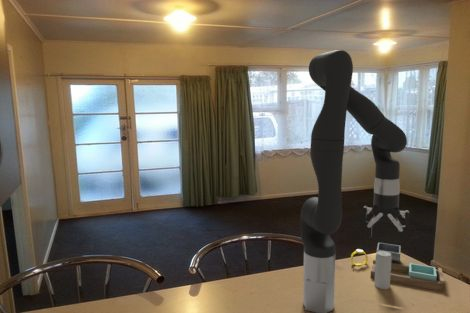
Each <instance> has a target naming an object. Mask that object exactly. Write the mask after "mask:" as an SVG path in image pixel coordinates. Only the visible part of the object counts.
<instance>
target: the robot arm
mask: <svg viewBox="0 0 470 313" xmlns="http://www.w3.org/2000/svg"><path fill="white" fill-rule="evenodd" d="M353 72H354V66H353V60H352V57H351V55H350V54H349V53H348V52H347V51H346V50H343V49H337V50H331V51H326V52H322V53H320V54H317V55H315V56H313V58H312V59H311V60H310V62H309V65H308V74H309V77H310V78H311V80H312V82H313V83H314V84H315V85H317V86H318V87H319V88H321V89H322V90H323V92H324V102H323V105H322V107H321V110H320V112H319V115H318V116H317V118H316V121H315V122H314V125H313V127H312V130H311V136H310V149H309V150H310V151H309V152H310V153H309V154H310V161H311V163H312V167H313V171H314V174H315V178H316V181H317V186H318V189H317V190H318V195H317V197H316V196H314V197H310V198H308V199H307V200H306V201H305V202H304V203H303V204H302V207H301V210H300V237H301V242H302V245H303V285H302V288H303V290H302V291H303V292H302V296H303V297H302V302H303V303H302V304H303V306H304V310H305V311H308V312H313V313H330V312H331V311H333V310H334V308H335V284H336V283H335V280H336V277H335V276H336V274H335V273H336V244H335V243H336V242H334V240H333V239H332V238H331V236H332V235H333V234H336V232H337V231H338V230H339V228H340V226H341V224H342V220H343V201H342V200H343V199H342V198H343V194H342V193H343V192H342V178H343V163H344V162H343V159H344V153H345V152H344V151H345V138H346V137H345V134H346V121H347V113H349V114H350V115H351V116H352V118H353V119H355V121H356V122H357V123H358V124H359V126H360V127H361V128H362V129H363V130H364V131H365V132H366V133H367V134H369V135H372V136H371V139H370V143H371V144H370V145H371V150H372V155H373V159H374V163H375V175H374V176H375V177H374V185H373V203H372V204H373V206H372V207H368V206H367V205H364V206H363V208H362V213H361V214H362V215H361V226H365V227H366V229H367V230H366V231H367V232H366V236H367V237H368V238H369V239H372V236H373V226H374V224H376V223H377V222H379V223H388V224H391V223H393V225H394V226H395V227H396V228H397V243H401V242H403V236H404V235H403V234H404V231H410V230H411V229H410V211H409V209H406V210H400V208H399V207H400V192H401V191H400V190H401V189H400V188H401V185H400V172H401V171H400V170H401V169H400V168H401V166H400V165H401V164H400V161H399V160H398V159H395V158H393V157H392V154H391V153H400V152H402V151H404V149H405V148H406V147H407V143H408V139H407V136H406V134H405V132H404V131H403V130H402V129H401V128H400V126H398V125H397V124H395V123H394V122H393V121H391V120H390V119H388V118H387V117H386V116H385V115H384V113H383V112H382V111H381V109H379V107H378V106H377V105H376V103H375V102H373V101H372V100H371V99H370V98H368V97H367V96H365V95H364V94H363V93H361V92H360V91H358V90H356V89H355V87H352V85H351V84H352V79H353ZM370 213H372V214H373V217H372V218H371V219H370V220H369V221H368V220H367V217H368V216H367V215H369V214H370ZM400 215H401V217H402V218H403V219H404V225H402V224H401V222H400V220H399V219H398V217H399V216H400Z"/></svg>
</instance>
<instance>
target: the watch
mask: <svg viewBox="0 0 470 313" xmlns="http://www.w3.org/2000/svg"><path fill="white" fill-rule="evenodd" d="M356 254H364V255H365V260H364V261H363V262H361V263H358V262H357V263H355V262H354V260H353V258H354V255H356ZM368 258H369V257H368V255H367V254H366V252H365V251H364V250H363V249H361V248H357V249H355V250H354V251H353V252H352V253H351V254H350V261H351V263H352V265H354V266H360V267H361V266H362V264H363V265H366V264H367V263H368Z"/></svg>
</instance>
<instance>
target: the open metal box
mask: <svg viewBox="0 0 470 313" xmlns="http://www.w3.org/2000/svg"><path fill="white" fill-rule="evenodd" d="M401 248H402V247H401V245H398V244H391V243H386V242H385V243H384V242H378V243H377V246H376V252H377V251H380V250H383V251H388V252H390V253H391V256H392V259H391V263H397V264H401Z"/></svg>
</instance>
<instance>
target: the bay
mask: <svg viewBox="0 0 470 313" xmlns="http://www.w3.org/2000/svg"><path fill="white" fill-rule="evenodd" d="M375 261H376V259H373V260H372V266H371V270H370V279H374V280H375ZM391 271H394V272H400V273H406V274H409V264H403V263H400V264H397V263H391ZM436 275H437V280H438V281H437V280H436V281H431V280H425V279H419V278H414V277H409V275H408V276H407V275H401V274H395V273H391V277H390V283H396V284H402V285H408V286H413V287H417V288H418V287H419V288H423V289H428V290H429V289H430V290H434V291H439V292H444V291H445V290H444V286H445V279H444V273H443V269H442V267H437V269H436Z"/></svg>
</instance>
